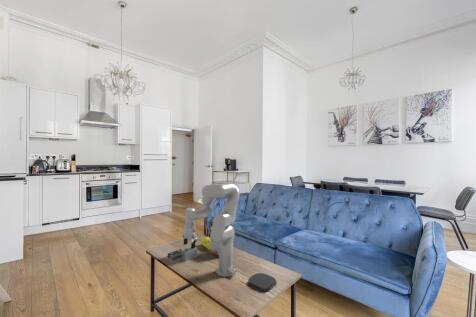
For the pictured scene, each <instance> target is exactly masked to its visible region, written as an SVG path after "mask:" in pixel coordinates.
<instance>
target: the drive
mask: <svg viewBox="0 0 476 317" xmlns="http://www.w3.org/2000/svg"><path fill="white" fill-rule="evenodd" d="M195 258H198V247H196V246H195V248H193V249H191V246H190V247H187V248H185V249H182V257H181V260H182V261H184V262H187V261H191V260H193V259H195Z"/></svg>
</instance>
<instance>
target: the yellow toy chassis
mask: <svg viewBox="0 0 476 317" xmlns="http://www.w3.org/2000/svg"><path fill="white" fill-rule="evenodd" d="M201 245H202V246H204V248H205V249H207V250H209V251H210V237H209V236H207V237H205V236H202V237H201Z"/></svg>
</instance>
